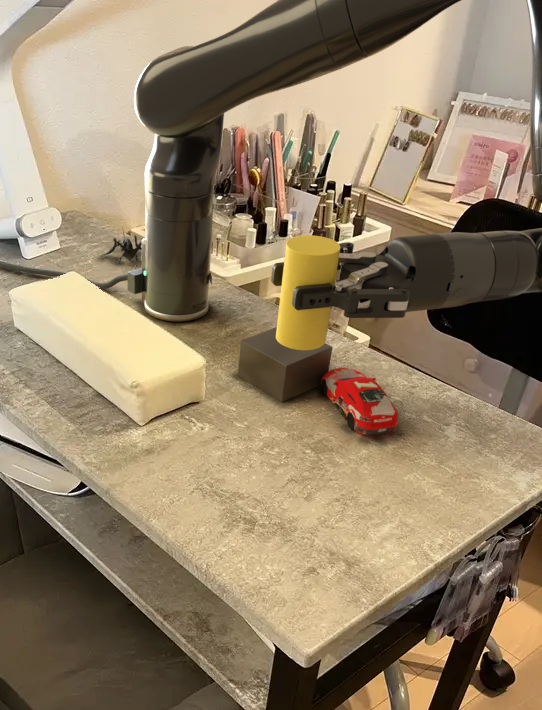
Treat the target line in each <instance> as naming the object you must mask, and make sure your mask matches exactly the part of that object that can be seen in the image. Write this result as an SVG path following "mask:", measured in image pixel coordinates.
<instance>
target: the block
mask: <svg viewBox="0 0 542 710" xmlns="http://www.w3.org/2000/svg"><path fill="white" fill-rule="evenodd" d="M276 330H277V326H275V327H273V328H269V329H267V330H265V331H262V332H260V333H257V334H254V335H251V336H249V337H245V338H243V339H241V340H240V343H239V355H238V357H239V358H238V367H237V368H238V369H237V376H238V377H239V378H241V379H243V380H244V381H245V382H247V383H249V384H251V385H252V386H253V387H256V388H257V389H259V390H261V391H262V392H264V393H266V394H268V396H270V397H272V398H274V399H276V400H277V401H279V402H281V403H284V402H286V401H287V400H291V399H293V398H295V397H296V396H299V395H302V394H304V393H306V392H309V391H310V390H312V389H314V388H317V387H319V386H320V387H321V379H322V377H323V376H324V374H326V373H327V372H329V371H330V365H331V361H332V360H331V359H332V354H333V348H334V347H333V345H330V344H328V343H326V342H325V344H324V345H323V346H321V347H320V348H317V349H313V350H296V349H291V348H288V347H285V346H283V345H282V344H280V343H279V342H278V341H277V339H276Z"/></svg>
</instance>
